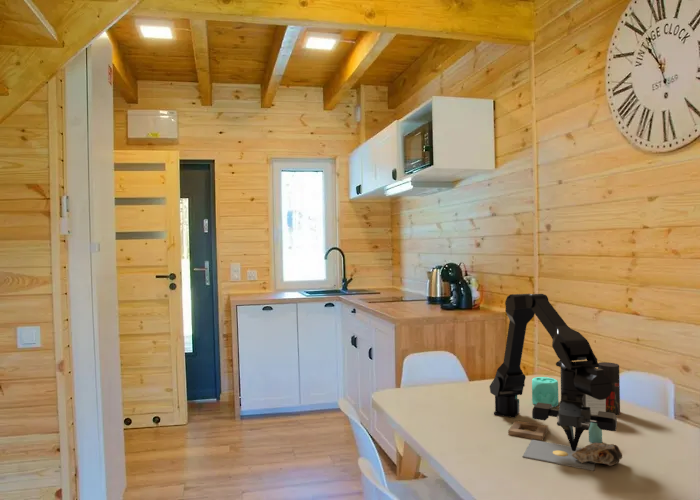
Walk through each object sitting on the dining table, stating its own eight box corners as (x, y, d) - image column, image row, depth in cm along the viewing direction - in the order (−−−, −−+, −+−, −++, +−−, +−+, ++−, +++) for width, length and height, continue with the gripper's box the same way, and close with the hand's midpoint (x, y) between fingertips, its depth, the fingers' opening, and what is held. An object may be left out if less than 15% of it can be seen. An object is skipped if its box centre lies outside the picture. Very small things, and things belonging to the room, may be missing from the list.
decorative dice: (532, 399, 170) (532, 376, 170) (557, 401, 167) (557, 377, 167) (532, 406, 162) (531, 381, 162) (558, 408, 159) (558, 384, 159)
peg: (588, 442, 131) (587, 420, 131) (589, 438, 134) (588, 416, 134) (601, 445, 129) (601, 422, 129) (602, 440, 132) (602, 418, 132)
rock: (622, 459, 120) (579, 442, 126) (626, 439, 118) (582, 423, 124) (614, 481, 114) (569, 462, 119) (618, 460, 112) (572, 442, 118)
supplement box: (606, 421, 146) (605, 383, 146) (585, 420, 148) (584, 382, 148) (600, 415, 152) (600, 378, 152) (580, 414, 153) (579, 377, 153)
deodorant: (594, 409, 157) (594, 362, 157) (612, 408, 158) (611, 361, 158) (606, 415, 152) (605, 367, 152) (624, 414, 152) (623, 366, 152)
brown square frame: (508, 434, 138) (508, 430, 138) (515, 424, 146) (515, 420, 146) (542, 440, 133) (542, 435, 133) (547, 429, 141) (547, 425, 141)
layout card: (522, 457, 123) (522, 455, 123) (531, 440, 133) (531, 439, 133) (593, 470, 115) (593, 469, 115) (597, 451, 125) (597, 450, 125)
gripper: (527, 391, 120) (528, 454, 120) (614, 402, 111) (615, 471, 111) (536, 380, 130) (536, 439, 130) (616, 389, 120) (617, 453, 120)
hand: (573, 450), depth 122 cm, fingers closed
